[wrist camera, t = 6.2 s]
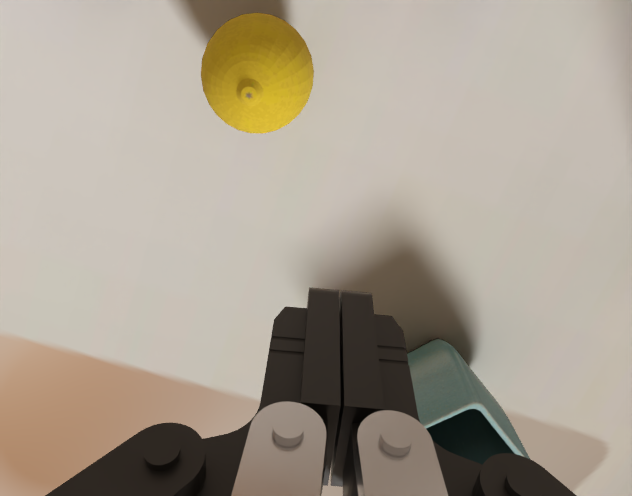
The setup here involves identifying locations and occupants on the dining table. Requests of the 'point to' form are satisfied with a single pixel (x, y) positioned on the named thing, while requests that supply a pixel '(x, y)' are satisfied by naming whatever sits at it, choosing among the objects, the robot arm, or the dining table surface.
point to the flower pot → (459, 405)
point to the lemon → (257, 73)
